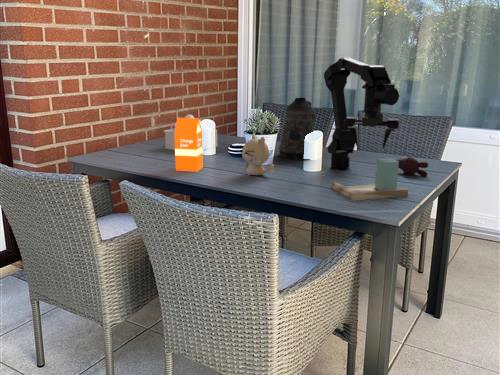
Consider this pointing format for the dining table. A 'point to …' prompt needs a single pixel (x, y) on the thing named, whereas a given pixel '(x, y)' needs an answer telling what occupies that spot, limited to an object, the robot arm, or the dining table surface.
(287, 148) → the dark translucent jar
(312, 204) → the dining table surface
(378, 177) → the block
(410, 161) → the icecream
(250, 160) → the kitten
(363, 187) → the tan tray
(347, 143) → the robot arm
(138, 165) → the dining table surface
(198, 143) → the orange juice
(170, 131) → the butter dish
